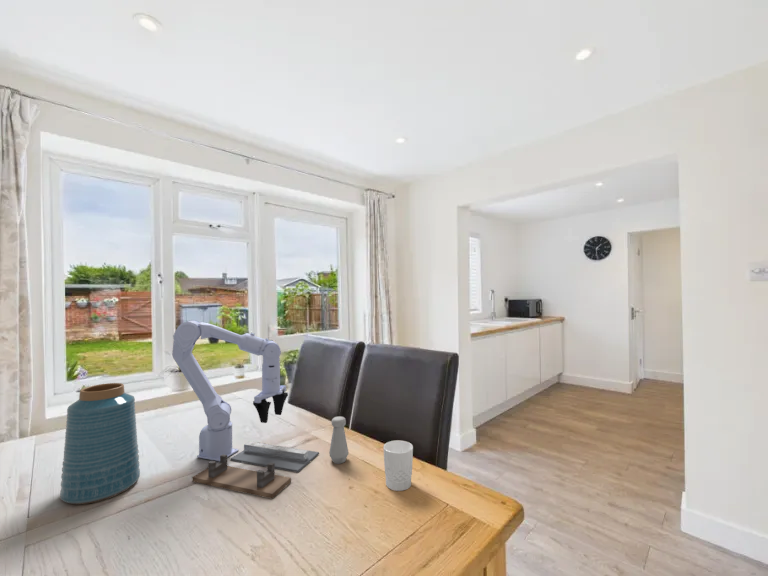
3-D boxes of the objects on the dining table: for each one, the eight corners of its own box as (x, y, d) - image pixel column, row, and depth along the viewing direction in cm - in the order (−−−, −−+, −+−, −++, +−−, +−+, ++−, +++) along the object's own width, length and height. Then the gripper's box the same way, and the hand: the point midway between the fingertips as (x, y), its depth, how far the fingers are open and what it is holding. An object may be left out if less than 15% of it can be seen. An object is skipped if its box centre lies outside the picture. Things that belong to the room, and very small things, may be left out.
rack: (192, 481, 95) (192, 462, 95) (215, 467, 103) (215, 450, 103) (272, 498, 87) (272, 478, 87) (290, 482, 94) (290, 463, 94)
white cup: (416, 479, 95) (416, 442, 95) (409, 495, 88) (408, 455, 88) (389, 474, 98) (388, 438, 98) (379, 489, 90) (379, 450, 90)
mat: (230, 460, 107) (230, 458, 107) (256, 444, 118) (256, 442, 118) (298, 472, 99) (298, 470, 99) (319, 454, 111) (319, 452, 111)
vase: (48, 515, 81) (49, 399, 81) (72, 481, 95) (72, 384, 96) (134, 495, 88) (134, 390, 89) (144, 467, 103) (144, 377, 103)
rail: (244, 452, 111) (244, 444, 111) (249, 448, 113) (249, 441, 113) (304, 462, 104) (303, 454, 104) (308, 458, 106) (308, 450, 106)
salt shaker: (345, 466, 103) (344, 421, 103) (326, 464, 104) (326, 420, 104) (350, 457, 108) (350, 415, 109) (333, 455, 110) (333, 413, 110)
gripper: (267, 383, 109) (267, 427, 108) (293, 373, 122) (293, 412, 122) (248, 382, 111) (248, 425, 111) (276, 372, 125) (276, 410, 124)
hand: (271, 418), depth 117 cm, fingers open, 7 cm apart
